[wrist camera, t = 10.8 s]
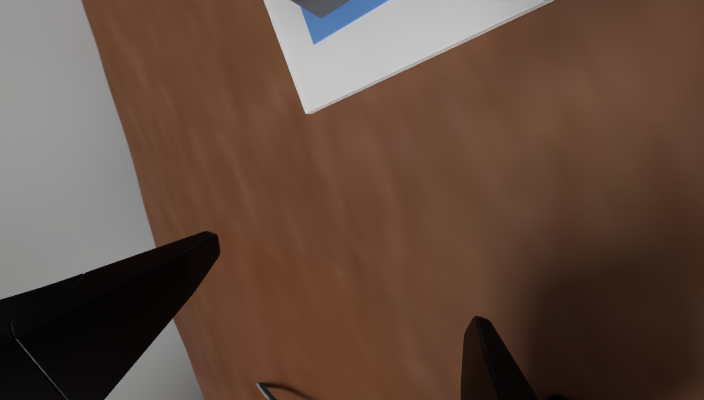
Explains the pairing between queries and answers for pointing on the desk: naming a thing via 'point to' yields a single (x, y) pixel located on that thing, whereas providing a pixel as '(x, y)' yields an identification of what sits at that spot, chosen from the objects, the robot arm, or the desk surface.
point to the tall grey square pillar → (320, 6)
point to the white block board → (377, 39)
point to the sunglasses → (266, 392)
